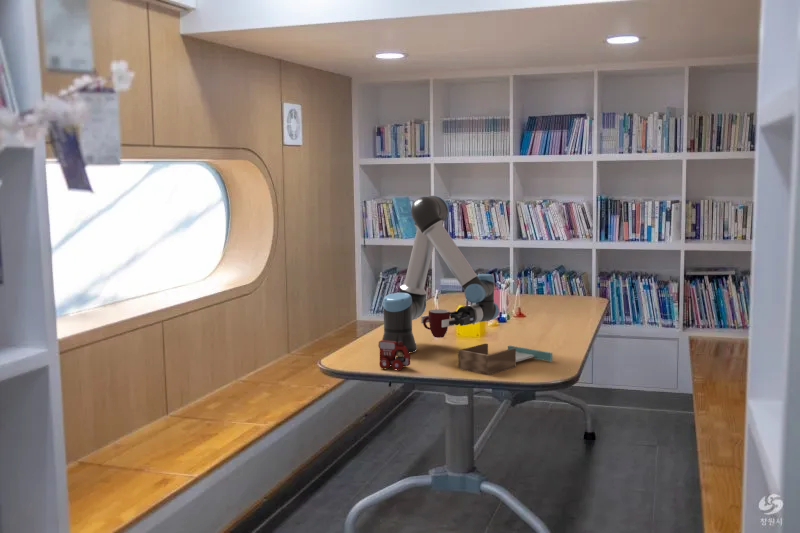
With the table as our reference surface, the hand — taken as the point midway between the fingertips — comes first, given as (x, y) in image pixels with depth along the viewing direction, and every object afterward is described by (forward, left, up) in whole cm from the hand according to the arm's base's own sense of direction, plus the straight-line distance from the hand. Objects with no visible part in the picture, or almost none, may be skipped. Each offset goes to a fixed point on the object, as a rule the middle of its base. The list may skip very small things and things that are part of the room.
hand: (431, 321), depth 307 cm
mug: (0, +2, -6) cm, 7 cm away
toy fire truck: (-5, -16, -16) cm, 23 cm away
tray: (+24, +22, -15) cm, 36 cm away
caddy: (+21, +7, -16) cm, 28 cm away
